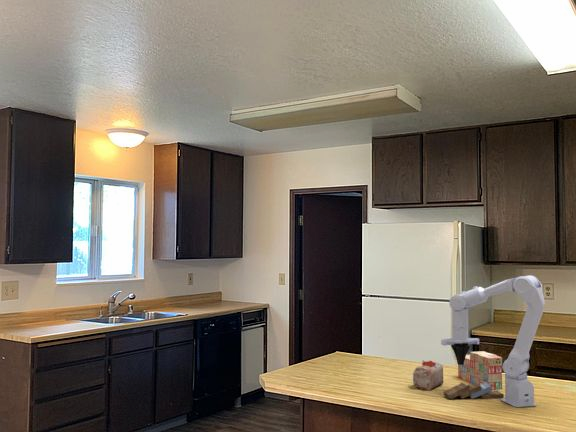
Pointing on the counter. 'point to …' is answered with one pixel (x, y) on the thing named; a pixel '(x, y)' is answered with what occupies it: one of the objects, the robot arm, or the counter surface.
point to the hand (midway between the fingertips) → (460, 364)
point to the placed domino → (485, 389)
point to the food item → (428, 375)
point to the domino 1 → (456, 391)
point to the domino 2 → (471, 390)
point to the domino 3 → (492, 395)
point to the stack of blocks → (482, 369)
